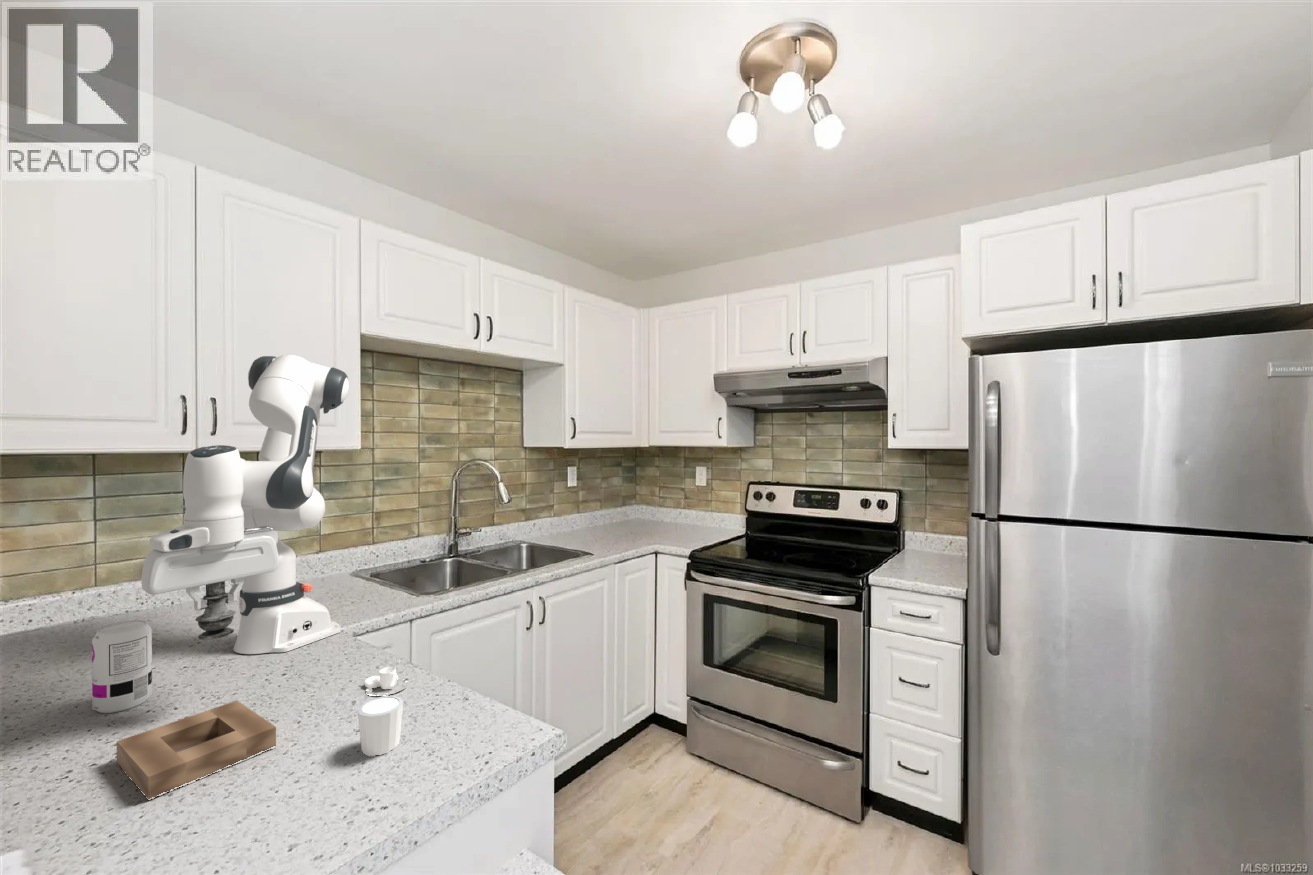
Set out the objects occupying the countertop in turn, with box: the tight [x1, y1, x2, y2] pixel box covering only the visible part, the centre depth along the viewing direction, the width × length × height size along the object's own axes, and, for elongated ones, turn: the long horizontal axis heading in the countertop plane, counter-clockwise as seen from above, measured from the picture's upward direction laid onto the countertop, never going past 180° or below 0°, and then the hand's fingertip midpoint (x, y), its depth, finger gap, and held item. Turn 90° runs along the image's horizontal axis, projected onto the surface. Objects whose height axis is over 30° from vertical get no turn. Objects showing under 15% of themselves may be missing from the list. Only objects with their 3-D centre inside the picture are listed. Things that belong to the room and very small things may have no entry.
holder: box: [116, 700, 277, 799], centre depth 89 cm, size 16×16×4 cm
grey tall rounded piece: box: [195, 581, 236, 641], centre depth 103 cm, size 6×6×12 cm
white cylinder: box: [357, 695, 404, 755], centre depth 92 cm, size 7×7×7 cm
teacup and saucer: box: [364, 666, 408, 697], centre depth 113 cm, size 9×8×4 cm
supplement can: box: [91, 619, 153, 714], centre depth 106 cm, size 8×8×15 cm
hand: (215, 605), depth 103 cm, fingers closed on grey tall rounded piece, 3 cm apart
